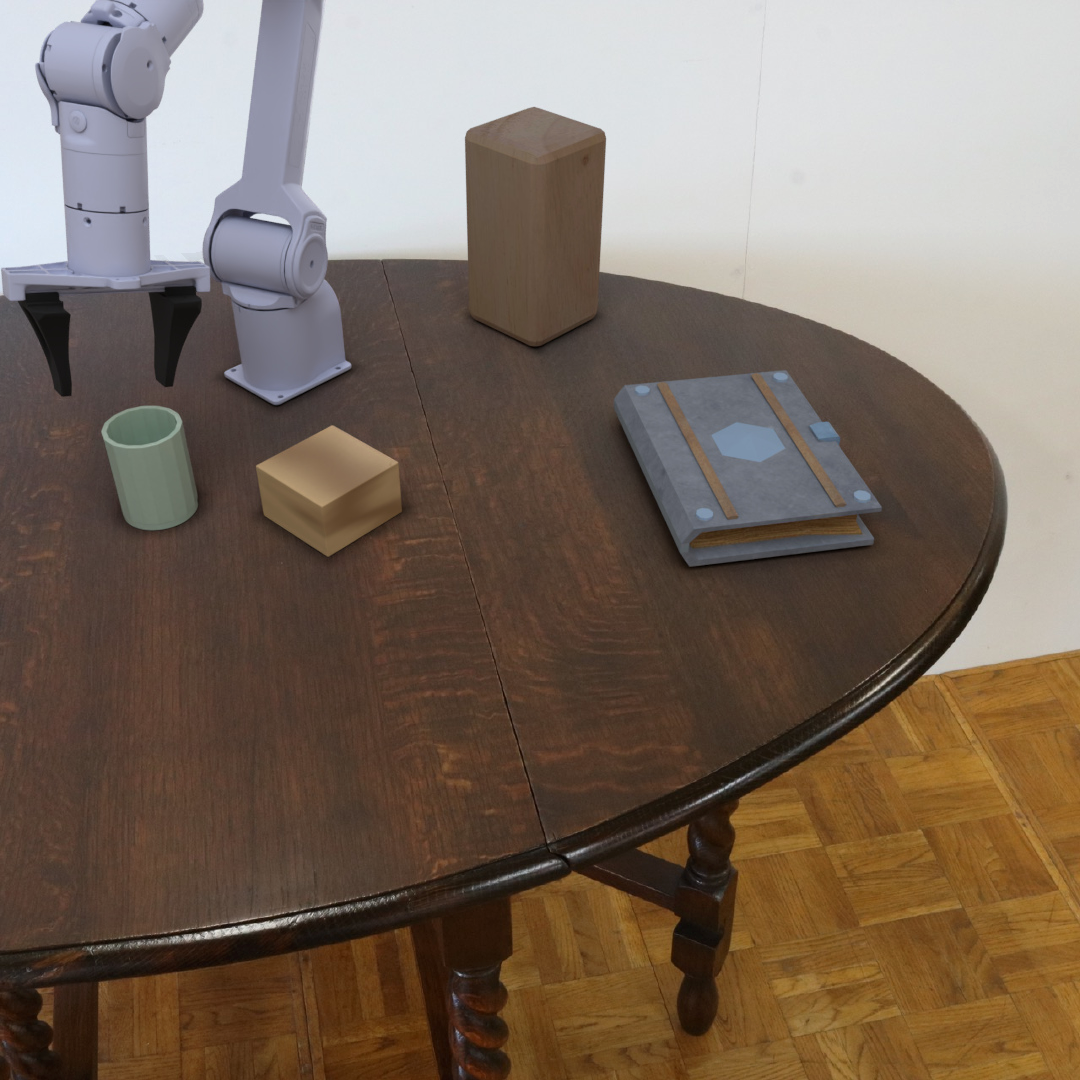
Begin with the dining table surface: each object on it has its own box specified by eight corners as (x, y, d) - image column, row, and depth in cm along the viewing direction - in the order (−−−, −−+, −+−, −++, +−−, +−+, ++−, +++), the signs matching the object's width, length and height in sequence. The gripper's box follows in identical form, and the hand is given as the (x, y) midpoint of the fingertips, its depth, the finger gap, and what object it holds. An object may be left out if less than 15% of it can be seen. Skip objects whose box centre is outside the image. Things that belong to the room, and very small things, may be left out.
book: (612, 425, 108) (615, 377, 105) (783, 408, 111) (791, 361, 108) (678, 572, 92) (683, 521, 89) (876, 548, 95) (889, 497, 92)
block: (338, 473, 101) (332, 424, 98) (402, 511, 97) (399, 461, 94) (263, 515, 97) (255, 465, 94) (328, 557, 93) (321, 506, 90)
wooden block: (601, 318, 124) (611, 127, 111) (535, 353, 118) (538, 155, 105) (531, 287, 129) (533, 101, 116) (465, 319, 123) (460, 127, 111)
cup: (170, 477, 101) (152, 397, 96) (213, 506, 98) (197, 424, 93) (108, 509, 97) (86, 427, 92) (151, 540, 94) (130, 457, 89)
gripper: (14, 218, 78) (29, 414, 84) (225, 216, 86) (226, 394, 92) (-13, 197, 83) (3, 384, 89) (189, 197, 91) (192, 368, 97)
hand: (114, 387), depth 90 cm, fingers open, 7 cm apart
